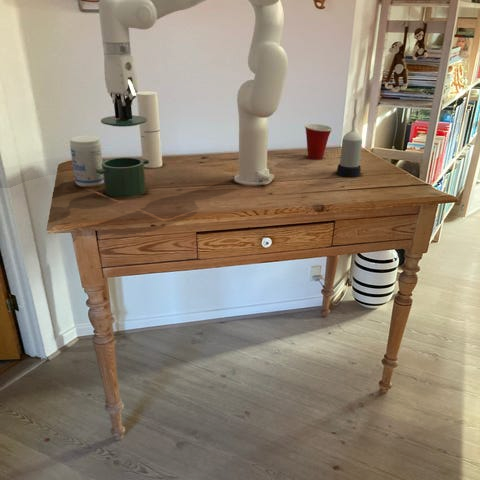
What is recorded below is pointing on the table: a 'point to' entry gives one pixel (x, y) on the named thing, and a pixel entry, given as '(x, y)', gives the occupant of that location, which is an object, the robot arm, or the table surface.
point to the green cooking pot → (123, 176)
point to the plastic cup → (317, 139)
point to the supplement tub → (86, 160)
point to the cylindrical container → (150, 128)
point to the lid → (120, 122)
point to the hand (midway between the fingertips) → (123, 118)
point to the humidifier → (351, 151)
